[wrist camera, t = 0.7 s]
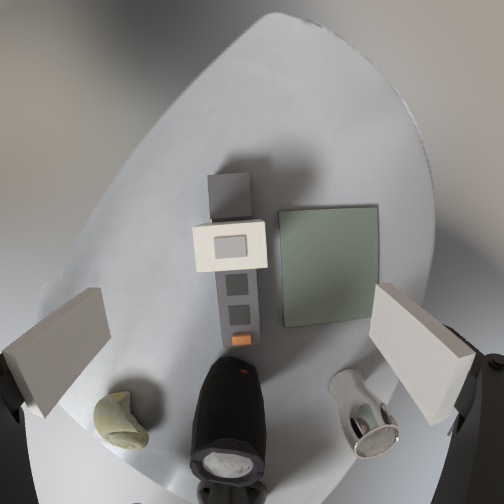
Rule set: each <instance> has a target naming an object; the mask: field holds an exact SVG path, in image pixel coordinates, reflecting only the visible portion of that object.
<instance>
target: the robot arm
mask: <svg viewBox="0 0 504 504" xmlns="http://www.w3.org/2000/svg"><path fill="white" fill-rule="evenodd" d="M369 337H370V338H371V340H372V341H373V342H374V344H375V345H376V347H377V348H378V349H379V351H380V352H381V354H382V355H383V356H384V358H385V359H386V361H387V362H388V363H389V365H390V366H391V368H392V369H393V371H394V372H395V373H396V375H397V376H398V378H399V379H400V381H401V382H402V384H403V385H404V387H405V388H406V389H407V391H408V392H409V394H410V395H411V397H412V398H413V400H414V401H415V403H416V404H417V406H418V407H419V409H420V410H421V412H422V413H423V415H424V416H425V418H426V419H427V421H428V423H429V424H430V425H433V424H436V423H439V422H442V421H445V420H447V419H448V418H449V415H450V414H451V412H452V410H453V408H454V407H455V408H456V409H457V410H458V412H459V413H458V415H457V417H456V419H455V421H454V423H453V425H452V427H451V428H450V430H449V432H448V434H447V435H448V436H449V435H450V434H451V432H452V431H453V432H452V437H451V441H450V445H449V449H448V453H447V456H446V460H445V463H444V467H443V470H442V473H441V476H440V479H439V482H438V485H437V488H436V491H435V493H434V496H433V499H432V501H431V504H504V356H503V355H500V354H488V355H483V354H482V353H481V352H480V351H479V350H478V349H476V348H475V347H474V346H473V345H472V344H471V343H469V342H468V341H466V339H465V338H463V337H462V336H460V334H458V333H457V332H456V331H455V330H454V329H452V328H450V327H448V326H446V325H444V324H441V323H440V322H439V321H438V320H436V319H435V318H434V317H433V316H431V315H430V314H429V313H428V312H426V311H425V310H424V309H423V308H422V307H420V306H419V305H418V304H416V303H415V302H414V301H413V300H411V299H410V298H409V297H408V296H406V295H405V294H404V293H402V292H401V291H400V290H398V289H397V288H396V287H394V286H393V285H392V284H391V283H381V284H376V287H375V295H374V303H373V310H372V317H371V324H370V330H369ZM110 338H111V334H110V330H109V326H108V322H107V317H106V313H105V308H104V303H103V298H102V292H101V288H87V289H86V290H84V291H83V292H81V293H80V294H78V295H77V296H75V297H74V298H73V299H71V300H70V301H68V302H67V303H65V304H64V305H63V306H61V307H60V308H58V309H57V310H56V311H54V312H53V313H51V314H50V315H49V316H47V317H46V318H44V319H43V320H42V321H40V322H39V323H38V324H36V325H35V326H34V327H32V328H31V329H30V330H28V331H27V332H26V333H24V334H23V335H22V336H20V337H19V338H18V339H16V340H15V341H14V342H13V343H11V344H10V345H9V346H7V347H6V348H5V349H4V350H2V353H1V354H0V504H39V503H38V499H37V495H36V491H35V486H34V482H33V477H32V472H31V467H30V461H29V455H28V448H27V439H26V431H25V418H24V412H23V410H22V408H21V405H22V403H23V402H24V401H25V403H26V405H27V407H28V408H29V410H30V412H31V413H32V414H34V415H37V416H39V417H41V418H44V419H45V418H46V416H47V415H48V414H49V413H50V411H51V410H52V408H53V407H54V406H55V405H56V404H57V402H58V401H59V400H60V399H61V397H62V396H63V395H64V393H65V392H66V391H67V390H68V388H69V387H70V386H71V385H72V384H73V382H74V381H75V380H76V379H77V377H78V376H79V375H80V374H81V373H82V371H83V370H84V369H85V368H86V367H87V365H88V364H89V363H90V362H91V361H92V359H93V358H94V357H95V356H96V355H97V353H98V352H99V351H100V350H101V349H102V348H103V346H104V345H105V344H106V343H107V342H108V341H109V339H110ZM197 497H198V500H199V504H264V503H265V501H266V488H265V486H264V485H263V484H262V483H261V482H259V481H256V482H255V483H253V484H252V485H248V486H244V487H237V486H232V485H226V484H220V483H215V482H210V481H201V482H200V483H199V485H198V489H197ZM134 504H140V503H134Z"/></svg>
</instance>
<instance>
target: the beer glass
mask: <svg viewBox="0 0 504 504" xmlns="http://www.w3.org/2000/svg"><path fill="white" fill-rule="evenodd" d="M328 389H329V393H330V394H331V396H332V397H333V398H334V399H335V400H336V402H337V404H338V409H339V416H340V422H341V426H342V430H343V433H344V435H345V437H346V439H347V442H348V443H349V445H350V447H351V449H352V450H353V452H354V455H355V456H356V457H357V458H360V459H370V458H374V457H377V456H380V455H382V454H383V453H385V452H387V451H388V450H390V449H391V448H392V447H393V446H394V445H395V444H396V443H397V441H398V440H399V438H400V435H401V431H400V428H399V427H398V425H397V423H396V421H395V419H394V417H393V415H392V414H391V412H390V410H389V409H388V407H387V406H386V405H385V403H384V402H383V401H382V400H381V399H380V398H379V397H377V396H376V395H375V394H374V393H373V392H372V391H371V390H370V389H368V387H367V386H366V385H365V382H364V379H363V376H362V374H361V373H360V372H359V371H358V370H355V369H345V370H342V371H340V372H338V373H337V374H336V375H335V376H334V377H333V378H332V379H331V380H330V382H329V386H328Z"/></svg>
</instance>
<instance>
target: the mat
mask: <svg viewBox="0 0 504 504" xmlns="http://www.w3.org/2000/svg"><path fill="white" fill-rule="evenodd" d="M278 214H279V229H280V246H281V265H282V285H283V308H284V327H285V328H286V327H296V326H306V325H315V324H323V323H331V322H339V321H346V320H353V319H360V318H366V317H372V310H373V303H374V295H375V287H376V284H378V218H377V207H372V208H341V209H318V210H298V211H280V212H278Z"/></svg>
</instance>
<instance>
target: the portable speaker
mask: <svg viewBox="0 0 504 504" xmlns="http://www.w3.org/2000/svg"><path fill="white" fill-rule="evenodd" d="M265 451H266V424H265V413H264V401H263V396H262V392H261V387H260V382H259V379H258V373H257V371H256V369H255V367H254V366H251V365H250V364H248V363H247V362H245V361H242V360H238V359H235V358H233V357H231V356H230V357H225V358H220V359H219V360H218V361H216V362H215V363H214V364H213V365H212V366H211V368H210V370H209V372H208V374H207V376H206V378H205V381H204V383H203V385H202V388H201V390H200V394H199V399H198V403H197V407H196V412H195V416H194V420H193V427H192V447H191V456H192V457H191V461H190V468H191V469H192V472H193V475H195V476H196V477H197V478H199V479H200V480H202V481H210V482H215V483H220V484H226V485H232V486H237V487H244V486H248V485H252V484H253V483H255V482H256V481H257V480H259V479H260V478H261V477H262V476H263V473H264V466H265Z"/></svg>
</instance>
